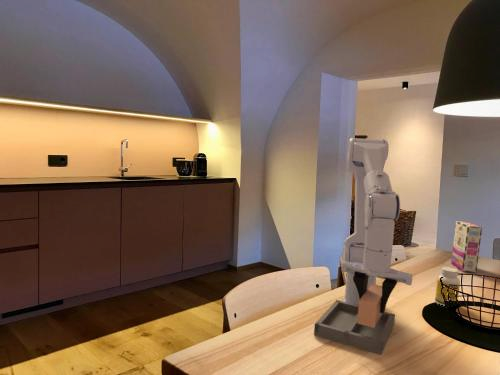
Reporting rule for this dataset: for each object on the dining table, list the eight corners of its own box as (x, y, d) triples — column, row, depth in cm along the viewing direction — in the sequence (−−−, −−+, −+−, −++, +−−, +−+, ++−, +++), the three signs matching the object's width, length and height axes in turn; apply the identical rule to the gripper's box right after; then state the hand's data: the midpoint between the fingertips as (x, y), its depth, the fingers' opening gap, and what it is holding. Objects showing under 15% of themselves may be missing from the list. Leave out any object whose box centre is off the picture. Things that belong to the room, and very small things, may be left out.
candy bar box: (477, 273, 134) (483, 227, 132) (462, 272, 134) (467, 226, 133) (464, 264, 145) (469, 221, 143) (450, 262, 145) (455, 220, 144)
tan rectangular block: (370, 304, 90) (371, 284, 90) (385, 308, 88) (387, 287, 88) (357, 323, 80) (359, 300, 79) (374, 328, 78) (376, 304, 78)
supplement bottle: (447, 309, 101) (451, 273, 100) (430, 301, 105) (434, 266, 104) (461, 306, 103) (465, 271, 102) (444, 299, 108) (448, 265, 107)
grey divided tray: (335, 309, 97) (336, 300, 96) (394, 324, 90) (395, 314, 90) (313, 334, 83) (314, 323, 82) (381, 354, 76) (382, 342, 76)
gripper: (339, 246, 83) (335, 307, 84) (411, 259, 76) (405, 324, 77) (348, 240, 89) (343, 297, 90) (415, 251, 82) (409, 312, 83)
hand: (372, 309), depth 84 cm, fingers closed on tan rectangular block, 3 cm apart
